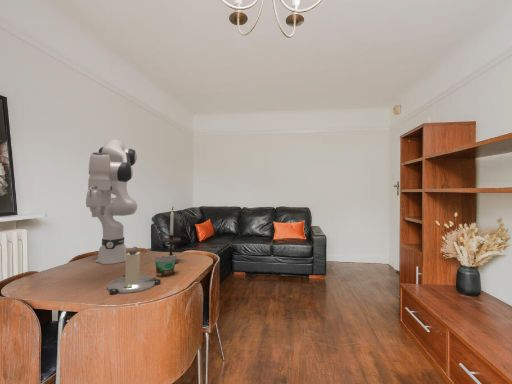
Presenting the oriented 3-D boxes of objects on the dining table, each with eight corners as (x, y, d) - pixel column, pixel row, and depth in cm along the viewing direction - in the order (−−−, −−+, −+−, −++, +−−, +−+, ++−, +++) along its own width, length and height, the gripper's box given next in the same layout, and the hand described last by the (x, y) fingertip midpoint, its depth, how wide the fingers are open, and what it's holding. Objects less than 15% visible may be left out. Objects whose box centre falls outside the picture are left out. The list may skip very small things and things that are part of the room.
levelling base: (116, 278, 126) (116, 273, 126) (163, 276, 131) (163, 271, 131) (99, 295, 105) (100, 289, 105) (156, 292, 110) (157, 286, 110)
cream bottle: (128, 279, 120) (129, 246, 120) (140, 279, 121) (140, 246, 121) (124, 284, 114) (125, 249, 114) (137, 283, 115) (138, 249, 115)
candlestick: (183, 262, 159) (185, 205, 160) (169, 266, 150) (170, 206, 150) (172, 259, 165) (173, 205, 165) (157, 263, 156) (159, 205, 156)
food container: (161, 279, 126) (162, 259, 127) (153, 277, 130) (154, 257, 130) (181, 273, 137) (181, 254, 137) (173, 271, 140) (173, 252, 140)
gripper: (98, 186, 111) (97, 218, 111) (113, 187, 131) (112, 214, 131) (82, 185, 109) (81, 218, 109) (99, 187, 129) (99, 214, 129)
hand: (98, 216), depth 120 cm, fingers open, 8 cm apart
